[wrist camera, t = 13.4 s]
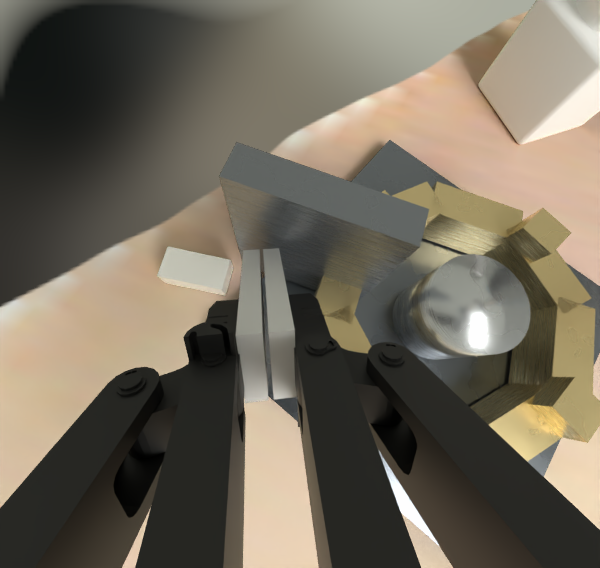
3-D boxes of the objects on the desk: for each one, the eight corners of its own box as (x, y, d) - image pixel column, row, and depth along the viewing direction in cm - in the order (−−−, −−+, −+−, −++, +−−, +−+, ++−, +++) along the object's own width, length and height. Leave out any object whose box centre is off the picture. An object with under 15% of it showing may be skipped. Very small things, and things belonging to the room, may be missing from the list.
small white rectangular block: (233, 267, 20) (230, 259, 19) (225, 295, 20) (221, 289, 18) (175, 255, 20) (167, 246, 19) (165, 283, 20) (156, 275, 18)
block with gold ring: (554, 255, 21) (742, 175, 13) (534, 492, 17) (806, 613, 8) (287, 162, 22) (297, 24, 13) (197, 369, 17) (122, 363, 9)
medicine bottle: (581, 127, 27) (808, -57, 15) (517, 147, 26) (714, -37, 14) (536, 69, 29) (711, -135, 17) (474, 85, 27) (619, -124, 16)
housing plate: (385, 149, 24) (419, 79, 19) (607, 305, 22) (724, 280, 16) (208, 342, 19) (180, 327, 13) (478, 579, 16) (588, 688, 11)
